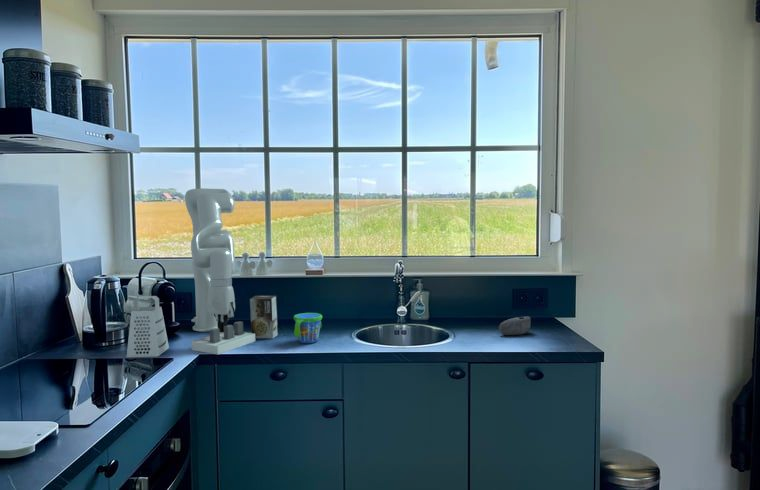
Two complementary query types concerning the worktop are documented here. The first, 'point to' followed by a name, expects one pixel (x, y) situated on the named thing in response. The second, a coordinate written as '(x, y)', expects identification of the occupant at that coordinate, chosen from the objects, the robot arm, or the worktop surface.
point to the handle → (214, 335)
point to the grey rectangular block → (228, 332)
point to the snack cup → (307, 327)
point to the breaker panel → (222, 343)
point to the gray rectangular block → (238, 328)
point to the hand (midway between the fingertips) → (222, 331)
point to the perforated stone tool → (515, 326)
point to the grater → (147, 330)
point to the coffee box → (264, 316)
